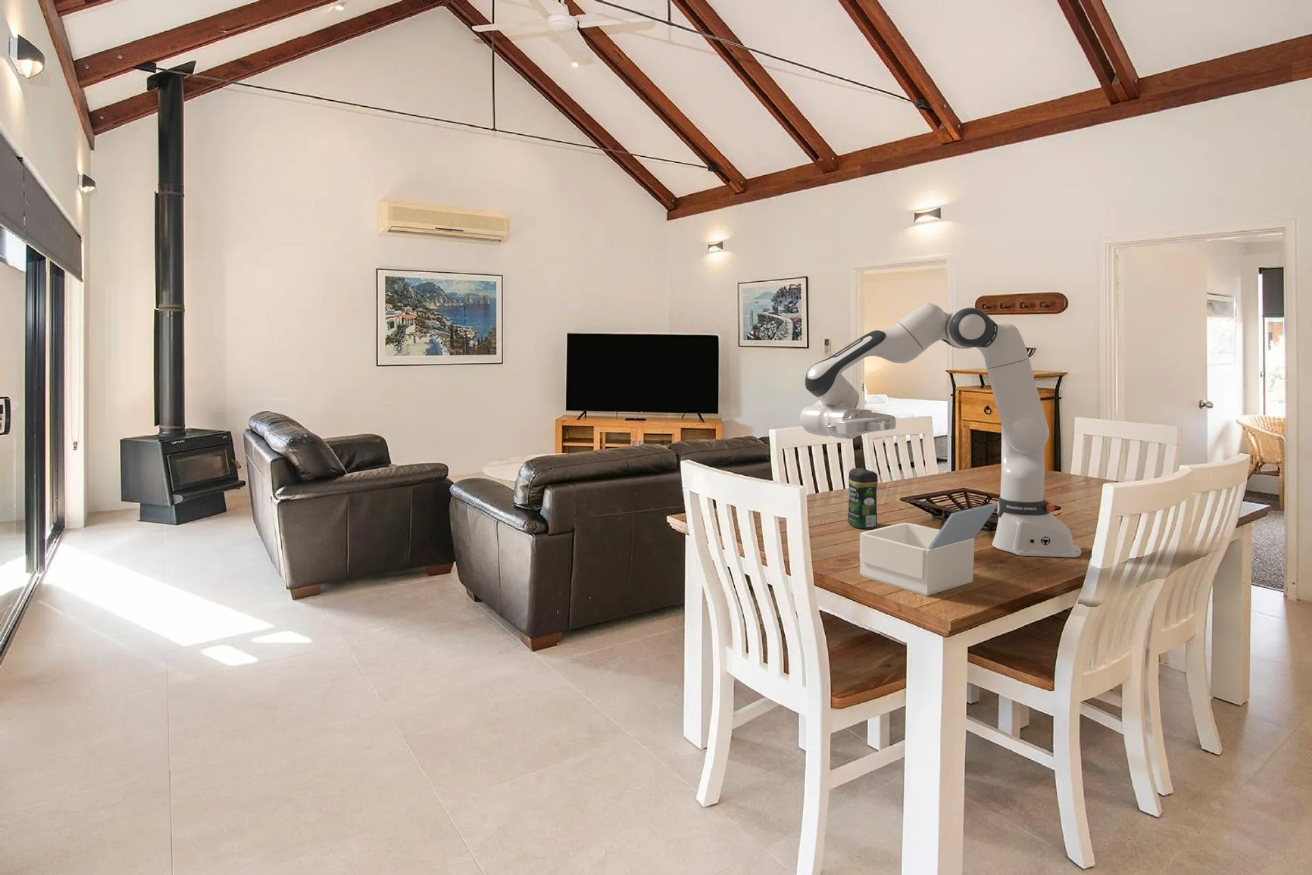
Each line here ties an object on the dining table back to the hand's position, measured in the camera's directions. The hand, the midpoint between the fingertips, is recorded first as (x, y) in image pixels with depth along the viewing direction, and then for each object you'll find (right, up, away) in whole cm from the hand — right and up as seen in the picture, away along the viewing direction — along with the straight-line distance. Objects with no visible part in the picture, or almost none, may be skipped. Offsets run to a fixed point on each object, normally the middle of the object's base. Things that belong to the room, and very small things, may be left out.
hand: (887, 426), depth 206 cm
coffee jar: (+4, -31, +41) cm, 52 cm away
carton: (+3, -38, -13) cm, 40 cm away
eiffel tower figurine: (+17, -36, +8) cm, 41 cm away
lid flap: (+10, -23, -25) cm, 36 cm away
